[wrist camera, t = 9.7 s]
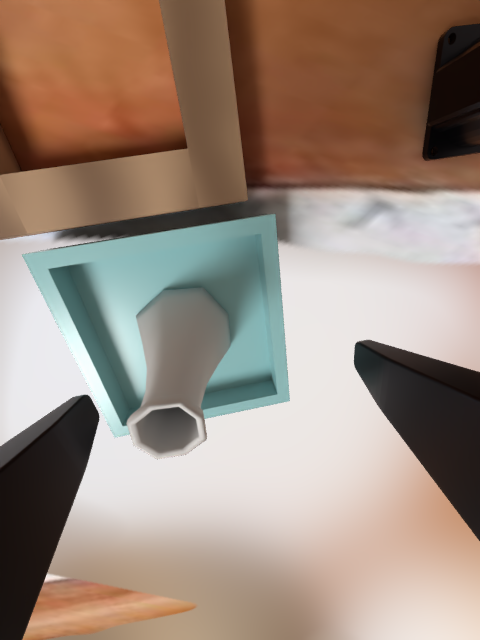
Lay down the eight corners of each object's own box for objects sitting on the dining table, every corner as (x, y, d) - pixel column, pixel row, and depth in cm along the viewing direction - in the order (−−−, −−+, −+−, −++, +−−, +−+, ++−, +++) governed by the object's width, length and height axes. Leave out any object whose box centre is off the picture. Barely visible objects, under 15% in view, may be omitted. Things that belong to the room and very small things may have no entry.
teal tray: (266, 214, 17) (275, 214, 15) (281, 382, 23) (289, 400, 21) (47, 249, 16) (21, 254, 14) (123, 415, 22) (114, 437, 20)
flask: (208, 270, 18) (212, 327, 8) (244, 348, 21) (275, 453, 11) (119, 308, 18) (28, 404, 9) (166, 380, 21) (136, 507, 12)
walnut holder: (190, -223, 10) (186, -321, 8) (243, 201, 16) (248, 200, 15) (-234, -203, 9) (-345, -309, 7) (1, 239, 16) (-27, 243, 14)
